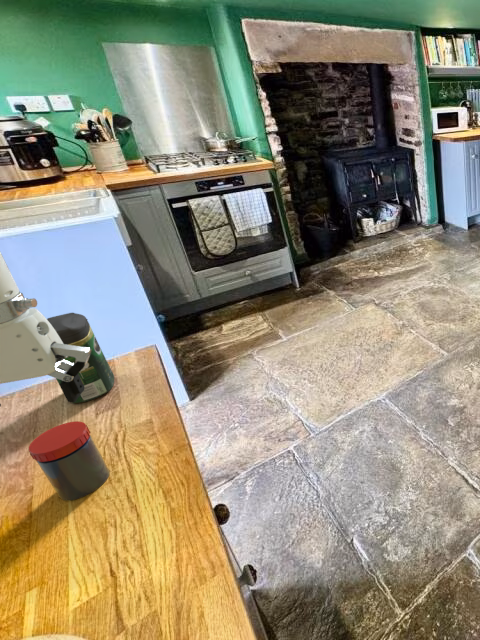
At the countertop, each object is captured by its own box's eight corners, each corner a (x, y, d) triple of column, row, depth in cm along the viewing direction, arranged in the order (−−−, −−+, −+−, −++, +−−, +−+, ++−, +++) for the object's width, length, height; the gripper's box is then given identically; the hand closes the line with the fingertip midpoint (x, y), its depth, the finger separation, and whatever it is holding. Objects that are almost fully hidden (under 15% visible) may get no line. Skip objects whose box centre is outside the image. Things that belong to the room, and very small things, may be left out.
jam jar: (50, 506, 67) (21, 461, 63) (69, 474, 72) (44, 431, 68) (100, 492, 70) (76, 448, 65) (115, 462, 75) (93, 420, 71)
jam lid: (97, 424, 71) (93, 416, 71) (79, 453, 66) (75, 445, 65) (46, 436, 69) (41, 428, 68) (23, 468, 63) (17, 459, 62)
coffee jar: (69, 386, 92) (33, 317, 85) (115, 371, 97) (85, 305, 90) (65, 410, 86) (25, 338, 78) (115, 393, 91) (83, 324, 83)
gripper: (79, 290, 63) (116, 376, 70) (-86, 309, 56) (-27, 403, 63) (54, 314, 57) (97, 406, 64) (-135, 338, 50) (-64, 439, 57)
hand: (35, 404), depth 63 cm, fingers open, 9 cm apart
